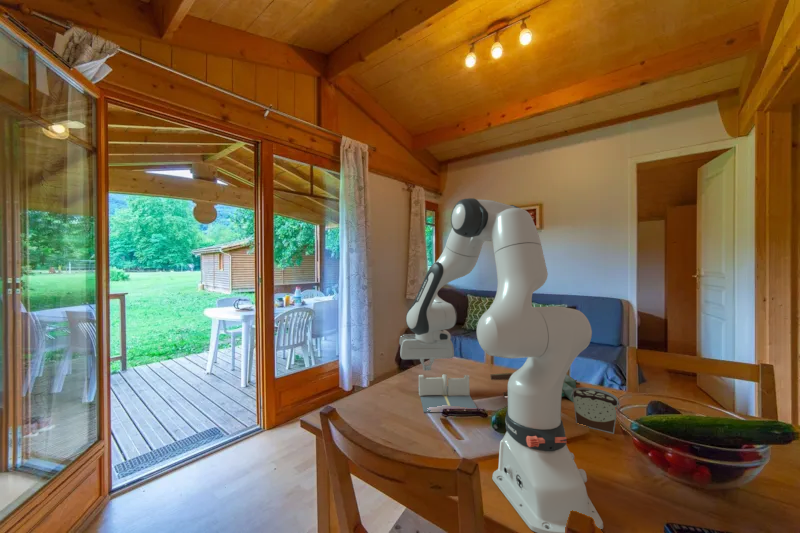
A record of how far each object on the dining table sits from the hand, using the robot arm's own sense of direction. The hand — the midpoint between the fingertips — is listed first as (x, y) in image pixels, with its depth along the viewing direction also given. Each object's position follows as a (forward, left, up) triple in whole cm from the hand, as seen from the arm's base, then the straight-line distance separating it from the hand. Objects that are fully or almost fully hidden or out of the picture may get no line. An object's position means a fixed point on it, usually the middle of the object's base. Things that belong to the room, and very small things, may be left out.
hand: (426, 369), depth 119 cm
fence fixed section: (-4, -10, -8) cm, 14 cm away
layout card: (-6, -6, -8) cm, 12 cm away
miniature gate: (+2, -43, -9) cm, 44 cm away
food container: (-26, -47, -9) cm, 55 cm away
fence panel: (-4, -2, -8) cm, 9 cm away
